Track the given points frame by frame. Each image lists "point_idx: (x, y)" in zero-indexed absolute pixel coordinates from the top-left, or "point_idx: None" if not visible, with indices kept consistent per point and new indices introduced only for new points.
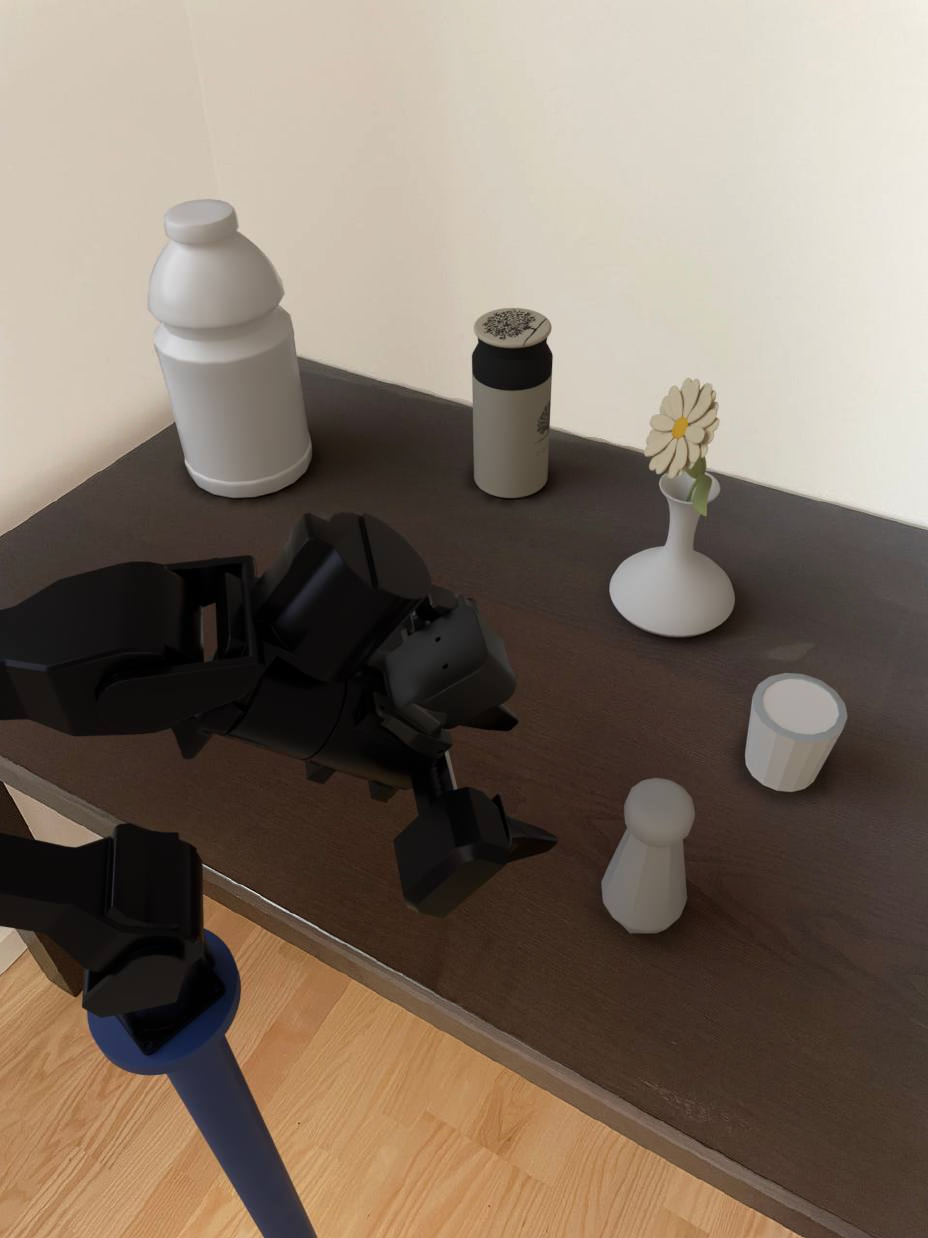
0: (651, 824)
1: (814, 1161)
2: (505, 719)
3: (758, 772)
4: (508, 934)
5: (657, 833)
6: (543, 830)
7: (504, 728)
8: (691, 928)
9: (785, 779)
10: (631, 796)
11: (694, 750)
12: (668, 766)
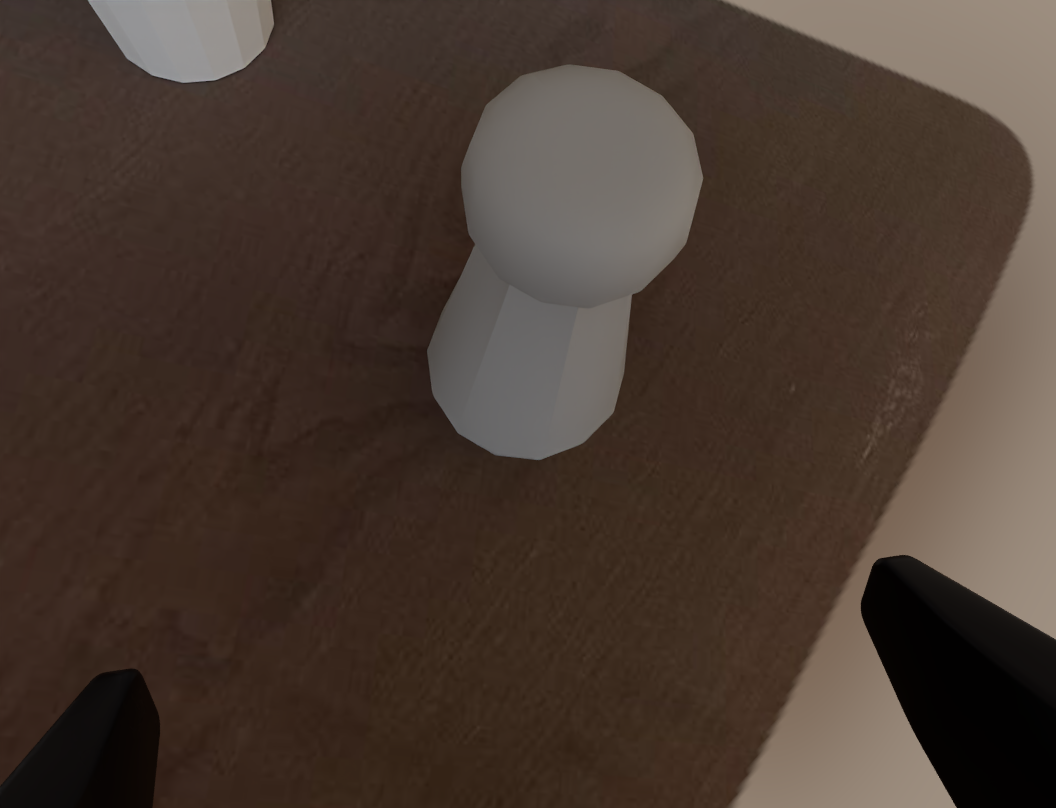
0: (682, 205)
1: (963, 226)
2: (119, 760)
3: (221, 56)
4: (557, 697)
5: (696, 202)
6: (967, 624)
7: (150, 755)
8: None
9: (261, 6)
10: (559, 241)
11: (111, 171)
12: (145, 239)
